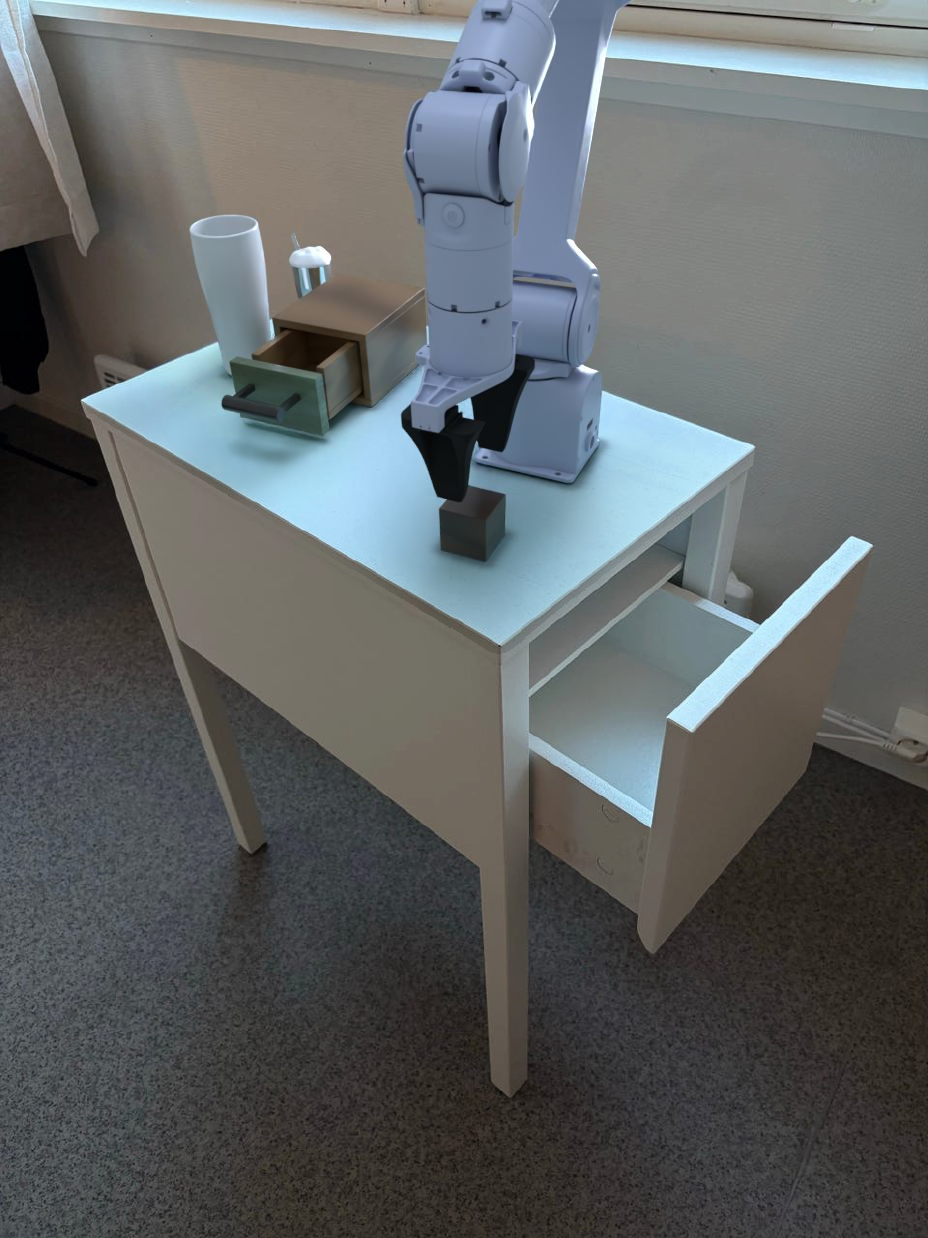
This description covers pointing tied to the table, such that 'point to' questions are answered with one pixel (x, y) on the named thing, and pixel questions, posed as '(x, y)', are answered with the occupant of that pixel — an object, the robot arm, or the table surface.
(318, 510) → the table surface
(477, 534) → the block
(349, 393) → the drawer
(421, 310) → the cabinet
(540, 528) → the table surface
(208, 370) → the table surface
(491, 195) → the robot arm
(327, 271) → the milkshake
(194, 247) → the drinking glass
